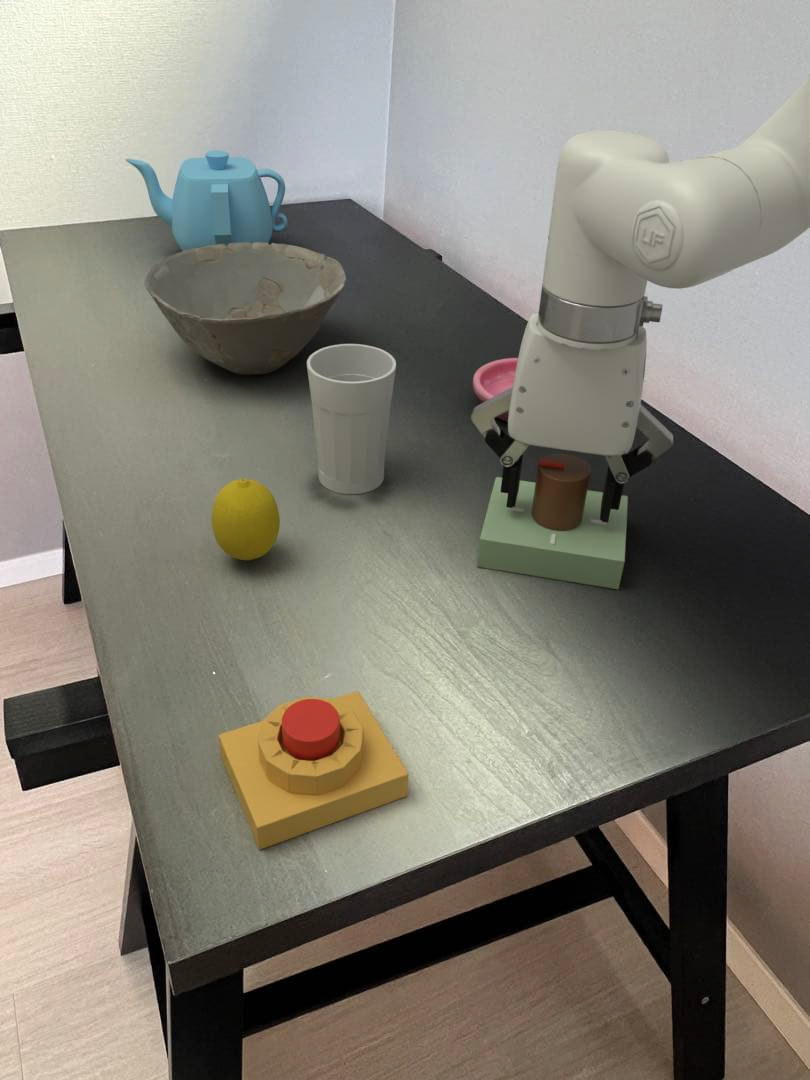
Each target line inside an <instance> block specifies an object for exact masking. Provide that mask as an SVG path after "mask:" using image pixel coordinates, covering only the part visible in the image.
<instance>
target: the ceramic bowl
mask: <svg viewBox="0 0 810 1080" xmlns="http://www.w3.org/2000/svg"><path fill="white" fill-rule="evenodd" d="M346 282H347V276H346V272H345V270H344V267H343V266H342V265H341V263H340V262H339V261H338V260H336V259H335V258H332V257H330V256H326V254H325V253H319V252H316V251H313V250H311V249H308V248H305V247H301V246H299V245H298V246H297V245H292V244H286V243H276V242H271V243H263V242H254V243H253V244H251V243H248V242H241V243H230V244H228V246H225V245H223V244H220V245H209V246H205V247H202V248H196V249H194V248H192V249H188V250H185V251H182V250H181V251H180V252H176V253H175V254H171V255H169V256H168V257H166V258H164V259H162V260H161V261H159V262H157V263H155V264H154V265H152V266H151V268H149V269H148V271H147V272H146V274H145V277H144V287H145V289H146V291H147V292H148V293H149V295H150V297H151V298H152V300H153V301H154V302H155V304H156V305H157V307H158V308H159V310H160V312H161V314H162V315H163V316H164V317H165V319H166V320H167V322H169V324H170V326H171V327H172V329H173V331H175V333H176V334H177V335H178V336H179V338H180V339H181V340H182V342H184V343H185V344H186V345H187V346H188V348H190V349H191V350H192V351H193V352H194V353H195V354H197V355H199V356H200V357H202V358H204V359H205V360H207V361H208V362H211V363H213V364H214V365H217V366H219V367H221V368H223V369H225V370H227V371H229V372H230V373H234V374H235V375H241V376H246V375H247V376H249V375H266V374H269V373H273V372H275V371H277V370H279V369H280V368H281V367H283V366H285V365H286V364H287V363H288V362H290V361H291V360H292V359H294V358H295V357H296V356H297V355H298V354H299V353H300V352H301V351H302V350H303V349H304V348H305V347H306V346H307V344H309V342H310V341H311V340H312V339H313V338H314V336H315V335H316V334H317V333H318V331H320V328H321V327H322V325H323V322H324V320H325V317H326V316H327V314H328V313H329V311H330V309H331V308H332V306H333V305H334V304H335V302H336V301H337V299H338V298H339V295H340V294H341V292H342V291H343V289H344V288H345V284H346Z"/></svg>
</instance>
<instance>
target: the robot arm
mask: <svg viewBox="0 0 810 1080" xmlns="http://www.w3.org/2000/svg"><path fill="white" fill-rule="evenodd" d="M564 143H565V144H564V145H563V146H562V148H561V150H560V153H559V156H558V162H557V167H556V173H555V174H556V175H555V181H554V189H553V198H552V206H551V212H550V213H551V215H550V220H549V221H550V222H549V227H548V235H547V245H546V251H545V252H546V253H545V261H544V268H543V275H542V283H541V291H540V300H539V307H538V312H534V313H533V314H531V315H530V316H529V318H528V321H527V322H526V323H527V324H526V326H525V329H524V332H523V336H522V338H521V339H522V340H521V343H520V348H519V353H518V356H517V358H518V361H517V366H516V372H515V377H514V383H513V387H511V388H510V389H508V390H506V391H504V392H502V393H500V394H498V395H496V396H495V397H493V398H491V399H489V400H487V401H485V402H483V403H482V402H481V403H480V404H478V405H476V406H474V407H473V409H472V412H471V415H470V420H471V422H472V423H473V424H474V426H475V428H476V429H477V431H478V432H479V433H480V435H482V436H483V438H484V442H485V444H486V445H487V446H488V447H489V448H490V449H491V450H492V451H493V452H494V454H495V455H496V456H497V457H498V459H499V462H500V464H501V465H502V466H503V467H502V476H501V478H502V483H501V493H508V497H507V506H506V507H508V508H512V507H515V504H516V500H517V495H518V491H519V483H520V480H521V475H522V467H523V460H524V453H525V452H526V451H527V450H528V449H529V447H530V446H535V447H541V448H548V449H553V450H554V449H555V450H561V451H569V452H576V453H583V454H589V455H599V456H604V458H605V460H606V462H607V464H608V467H607V471H606V476H605V482H604V487H603V491H602V492H603V496H602V502H601V511H600V520H602V522H607V523H608V520H609V515H610V510H611V509H615V510H619V506H620V501H621V496H622V495H623V490H624V486H625V484H627V483H628V482H629V481H630V478H631V477H633V476H635V475H636V474H637V473H640V472H641V471H643V470H645V469H646V468H648V467H650V466H651V465H652V463H653V462H654V460H656V459H659V458H660V457H661V456H663V455H664V454H665V453H667V452H668V451H669V450H671V449H672V448H673V446H674V435H673V433H672V432H671V431H670V430H669V429H668V428H667V427H666V426H665V425H664V424H662V422H660V420H658V419H657V418H656V417H655V416H654V415H653V414H652V413H651V412H650V411H649V410H648V409H647V408H646V407H645V406H644V405H643V404H641V403H642V398H643V391H644V390H643V389H644V381H645V374H646V360H647V350H648V349H647V345H648V344H647V343H648V341H647V330H646V328H645V327H644V323H645V324H649V323H650V322H652V323H660V322H661V318H662V312H663V303H654V301H653V300H649V299H648V296H646V295H645V294H646V290H647V285H648V282H650V283H652V284H654V285H657V286H659V287H662V288H666V289H675V290H676V289H677V290H679V289H680V290H681V289H688V288H693V287H695V286H699V285H701V284H704V283H706V282H709V281H711V280H713V279H716V278H718V277H721V276H724V275H726V274H728V273H730V272H732V271H734V270H735V269H738V268H741V267H743V266H745V265H748V264H750V263H753V262H755V261H758V260H760V259H763V258H765V257H768V256H770V255H772V254H774V253H776V252H778V251H779V250H781V249H783V248H784V247H786V246H787V245H789V244H791V242H793V241H794V240H795V239H797V238H798V237H800V236H801V235H802V234H803V233H805V232H806V231H807V230H809V229H810V74H809V75H808V76H807V77H806V78H805V80H804V81H803V82H802V83H801V85H800V86H799V87H798V88H797V89H796V90H795V92H793V94H792V95H790V97H789V98H788V99H787V100H786V101H784V103H783V104H782V105H781V106H780V107H779V108H778V109H777V110H776V111H775V112H774V113H773V114H772V115H771V116H770V117H769V118H768V119H767V120H766V121H765V122H764V123H762V125H761V126H760V127H758V129H756V130H755V131H754V132H753V134H751V135H750V136H749V137H748V138H746V139H745V141H743V142H742V143H741V144H739V145H738V146H736V147H733V148H729V149H728V148H727V149H725V150H721V151H718V152H714V153H710V154H706V155H702V156H698V157H696V158H692V159H685V160H679V161H674V162H670V159H669V154H668V152H667V150H666V148H665V147H664V146H663V144H661V143H660V142H659V141H658V140H655V139H653V138H652V137H649V136H646V135H644V134H639V133H635V132H629V131H622V130H621V131H620V130H609V129H608V130H605V129H604V130H590V131H584V132H581V133H578V134H575V135H574V136H572V137H570V138H569V139H568V140H567V141H566V142H564ZM507 411H509V417H508V422H507V432H508V433H507V432H506V431H505V430H504V429H503V428H502V427H501V426H500V424H497V422H496V420H495V419H496V418H497V416H499V415H501V414H503V413H505V412H507ZM637 430H639V432H641V433H642V434H643V435H644V436H645V437H646V438H647V441H646V443H644V444H641V445H639V446H638V447H636V448H634V449H632V447H633V443H634V440H635V435H636V431H637ZM631 449H632V450H631ZM630 450H631V451H630Z"/></svg>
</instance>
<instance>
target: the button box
mask: <svg viewBox="0 0 810 1080" xmlns="http://www.w3.org/2000/svg"><path fill="white" fill-rule="evenodd" d="M305 699H319V700H323V701H326V702H328V703H329V704H331V705H332V706H333V707H334V708H335V709H336V710H337V712H338V714H339V717H340V741H339V744H338V746H337V748H336V749H335V750H334V751H333V752H332V753H331V754H330V755H328V756H326V757H324V758H321V759H317V760H303V759H299V758H296V757H294V756H293V755H291V754H290V753H289V752H288V751H287V750H286V749H285V747H284V744H283V737H282V717H283V714H284V712H285V711H286V709H287V708H288V707H290V706H291V705H292V704H294V703H296V702H298V701H301V700H305ZM217 738H218V744H219V745H218V747H219V753H220V758H221V761H222V763H223V766H224V769H225V771H226V773H227V775H228V779H229V780H230V783H231V786H232V788H233V790H234V793H235V794H236V798H237V800H238V802H239V805H240V807H241V810H242V812H243V814H244V817H245V819H246V822H247V823H248V827H249V829H250V831H251V834H252V837H253V839H254V841H255V844H256V846H257V848H258V851H259V850H260V851H261V850H263V849H266V848H269V847H272V846H275V845H277V844H279V843H282V842H286V841H289V840H290V839H293V838H296V837H299V836H302V835H304V834H308V833H309V832H312V831H315V830H318V829H321V828H324V827H326V826H329V825H331V824H335V823H337V822H340V821H342V820H345V819H349V818H350V817H354V816H356V815H359V814H362V813H365V812H367V811H370V810H372V809H375V808H378V807H381V806H384V805H386V804H390V803H392V802H394V801H398V800H400V799H402V798H406V797H407V796H408V788H409V787H408V786H409V773H408V771H407V769H406V767H405V766H404V764H403V763H402V761H401V759H400V758H399V756H398V754H397V752H396V750H395V749H394V747H393V746H392V744H391V742H390V741H389V738H388V737H387V736H386V734H385V732H384V731H383V729H382V728H381V726H380V724H379V722H378V721H377V719H376V717H375V716H374V714H373V712H372V711H371V709H370V708H369V705H368V704H367V702H366V701H365V699H364V697H363V696H362V694H361V692H360V691H359V690H356V691H352V692H350V693H346V694H343V695H341V696H337V697H334V698H328V697H327V698H325V697H315V696H303V697H300V698H297V699H293V700H291V701H287V702H284V703H282V704H281V703H280V705H278V706H277V707H276V708H275V709H274V710H273V711H272V712H270V713H269V714H268V715H267V716H266V717H265V718H264V719H263V720H260V721H258V722H254V723H250V724H248V725H244V726H241V727H238V728H235V729H232V730H229V731H225V732H222V733H220V734H218V735H217Z"/></svg>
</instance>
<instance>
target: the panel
mask: <svg viewBox="0 0 810 1080" xmlns="http://www.w3.org/2000/svg"><path fill="white" fill-rule="evenodd" d="M501 483H502V477H500V476H496V477H495V479H494V483H493V486H492V491H491V494H490V498H489V502H488V506H487V508H486V513H485V517H484V520H483V524H482V529H481V533H480V534H479V535H480V536H479V539H478V540H479V541H478V550H477V561H476V567H477V568H484V569H489V570H494V571H502V572H508V573H513V574H520V575H526V576H531V577H539V578H543V579H551V580H557V581H564V582H569V583H577V584H582V585H589V586H595V587H600V588H607V589H612V590H619V589H620V586H621V585H620V584H621V581H622V576H623V573H624V572H623V571H624V567H625V562H626V545H627V544H626V543H627V523H628V506H629V505H628V504H629V496H628V495H623V494H622V496H621V501H620V506H619V510H615V509H611V510H610V515H609V520H608V523H607V522H602V520H600V511H601V502H602V496H603V491H602V492H601V491H596V490H595V491H594V490H589V489H588V490H587V496H586V501H585V507H584V512H583V518H582V521H581V523H580V524H579V525H578V526H577V527H575V528H573V529H569V530H553V529H549V528H546V527H543V526H541V525H539V524H538V523H537V522H536V521H535V520H534V519H533V517H532V514H531V511H532V504H533V497H534V490H535V483H536V481H535V482H532V481H528V480H527V481H526V480H521V479H520V483H519V491H518V495H517V500H516V504H515V507H512V508H508V507H506V506H507V497H508V493H501Z"/></svg>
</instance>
